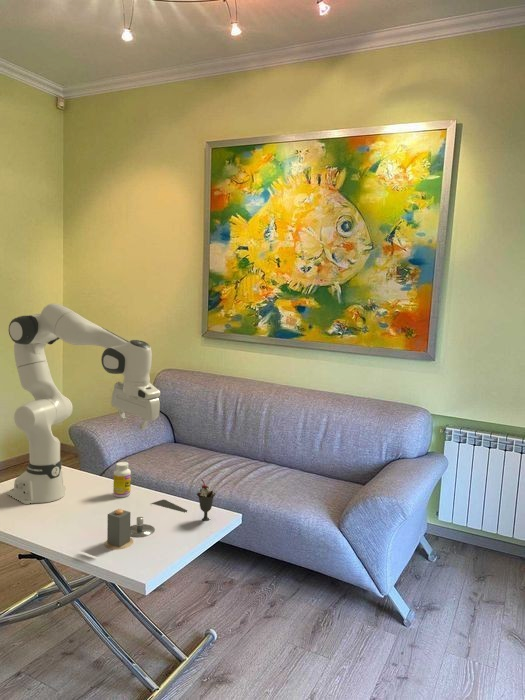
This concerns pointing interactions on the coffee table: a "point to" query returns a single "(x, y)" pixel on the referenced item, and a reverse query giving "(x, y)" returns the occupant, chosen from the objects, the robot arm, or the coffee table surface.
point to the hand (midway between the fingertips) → (132, 425)
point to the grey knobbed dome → (141, 529)
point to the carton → (118, 528)
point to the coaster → (121, 546)
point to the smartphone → (169, 505)
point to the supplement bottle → (122, 480)
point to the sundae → (205, 500)
